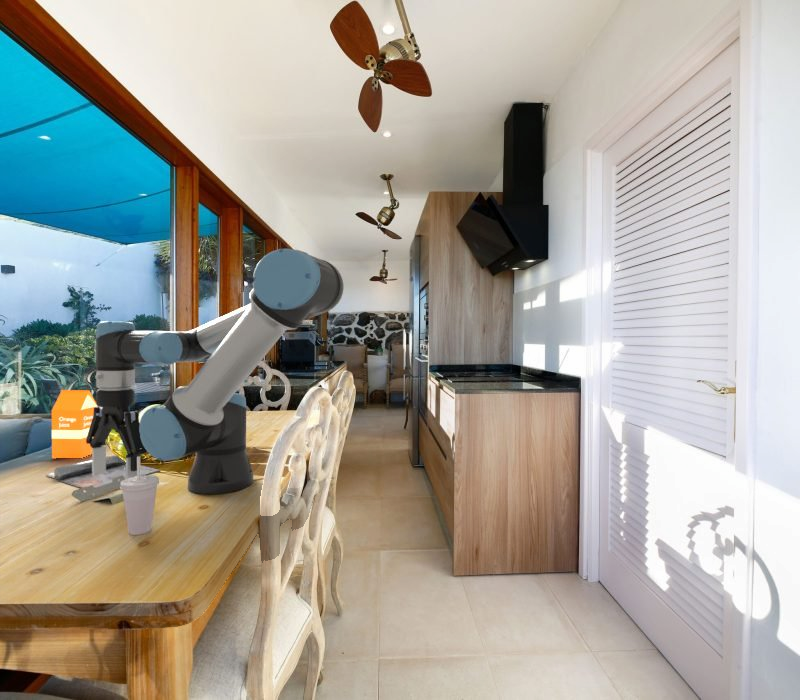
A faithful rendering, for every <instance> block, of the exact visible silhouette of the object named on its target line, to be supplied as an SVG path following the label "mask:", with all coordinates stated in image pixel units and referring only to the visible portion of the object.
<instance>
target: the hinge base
mask: <svg viewBox="0 0 800 700" xmlns="http://www.w3.org/2000/svg"><path fill="white" fill-rule="evenodd" d="M116 455H117V454H113V455H109V456H106V473H104V474H100V475H96V476H92V459H90V460H86V461H81V462H77V463H73V464H67V465H63V466H59V467H55V468H54V471H53V472H49V473H46V477H48V478H51V477H52V479H54V478H55V479H56V480H57V479H58V480H57V482H61V483H64V484H66V483H67V484H66V485H68V486H69V485H70V486H72V485H73V486H72V487H75V486H76V488H78V489H81V488H84V487H87V486H90V485H94V487H95V488H96V487H99V486H102V485H105V484H108V483H111V482H112V479H113V478H116V477H119V476H122V475H123V476H124V478H125V479H126V464H125V463H126V462H125V461H124V460H122V459H121V458H119V457H118V456H116ZM158 472H161V469H157V468H155V467H154V468H153V467H149V466H146V465H141V464H140V476H142V475H152V474H154V473H158ZM83 473H84V474H83ZM118 481H120V479H118Z"/></svg>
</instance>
